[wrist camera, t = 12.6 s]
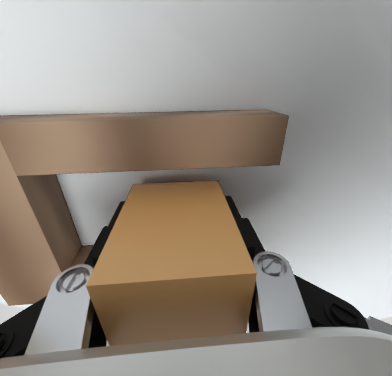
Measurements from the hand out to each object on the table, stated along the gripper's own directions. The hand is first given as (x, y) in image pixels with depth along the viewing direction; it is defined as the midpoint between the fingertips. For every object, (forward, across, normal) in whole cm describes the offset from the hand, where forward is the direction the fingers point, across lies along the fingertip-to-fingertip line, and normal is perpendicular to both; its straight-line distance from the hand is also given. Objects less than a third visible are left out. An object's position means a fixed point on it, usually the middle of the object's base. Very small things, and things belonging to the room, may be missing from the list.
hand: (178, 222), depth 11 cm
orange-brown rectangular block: (+1, 0, 0) cm, 1 cm away
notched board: (+2, +3, 0) cm, 4 cm away
